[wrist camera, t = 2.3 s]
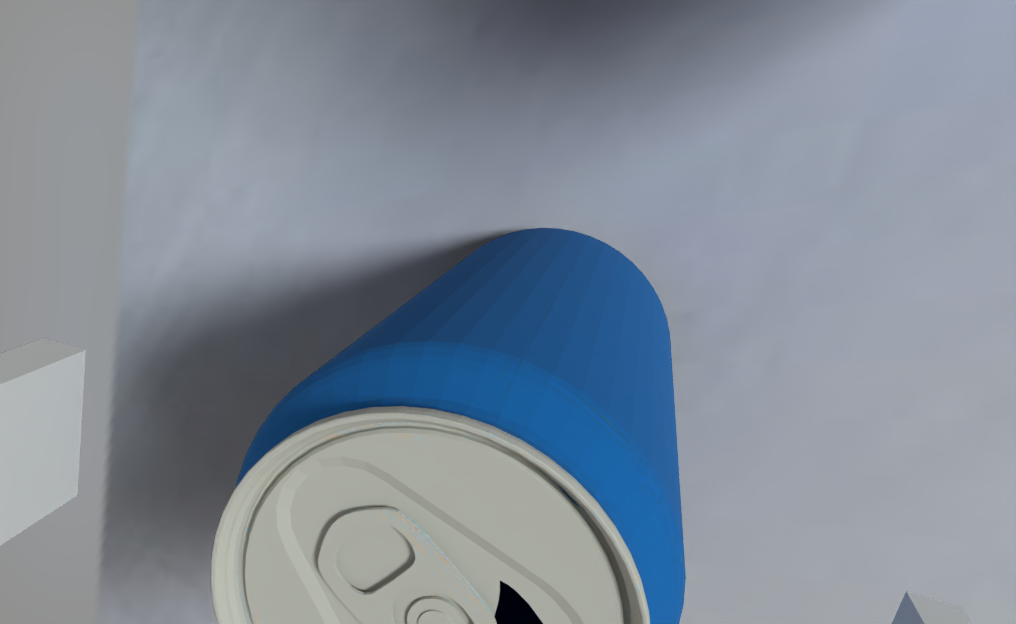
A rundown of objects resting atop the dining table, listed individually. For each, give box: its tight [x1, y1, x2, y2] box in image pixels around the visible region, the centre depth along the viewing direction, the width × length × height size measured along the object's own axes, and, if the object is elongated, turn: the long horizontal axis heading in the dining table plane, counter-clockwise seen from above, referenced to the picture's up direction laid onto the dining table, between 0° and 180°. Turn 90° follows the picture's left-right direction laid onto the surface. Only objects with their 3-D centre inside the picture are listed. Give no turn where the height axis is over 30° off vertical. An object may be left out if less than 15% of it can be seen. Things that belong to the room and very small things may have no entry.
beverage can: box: [211, 228, 686, 624], centre depth 15 cm, size 6×6×12 cm
